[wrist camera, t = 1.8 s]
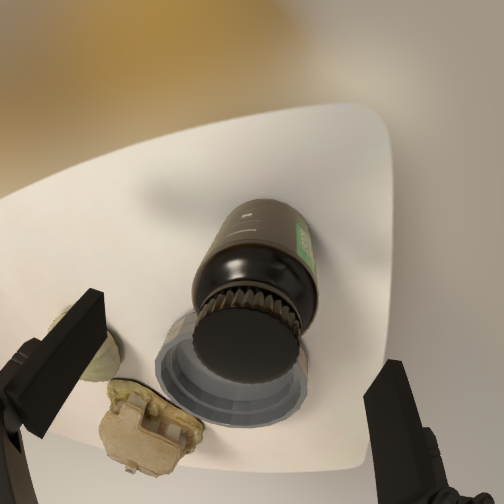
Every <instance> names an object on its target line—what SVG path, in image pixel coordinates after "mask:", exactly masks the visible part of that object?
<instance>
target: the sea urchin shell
mask: <svg viewBox="0 0 504 504" xmlns="http://www.w3.org/2000/svg"><path fill="white" fill-rule="evenodd" d="M66 313H67V312H65V313H63V314H61V315H60V316H58V317H57V318H56V319H55V320H54V322H53V323H52V325H50V328H49V331H48V333H49V332H50V331H51V330H52V329H53V327H54V326H55V325H56V324H57V323H58V322H59V321H60V320H61V318H62V317H63V316H64V315H65V314H66ZM107 336H108V337H107V339H106V340H105V342H104V343H103V345H102V346H101V347H100V349H99V350H98V352H97V353H96V355H95V356H94V358H93V359H92V361H91V362H90V364H89V365H88V367H87V368H86V370H85V371H84V373H83V374H82V376H81V377H80V379H81V380H84V381H89V382H90V381H92V382H99V381H102V382H103V381H108V380H110V379H111V378H112V377H114V376H115V375H116V373H117V372H118V369H119V366H120V357H119V352H118V350H119V349H118V346H117V345H116V344H115V341H114V339H113V337H112V335H111V334H110V333H109V331H107Z"/></svg>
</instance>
